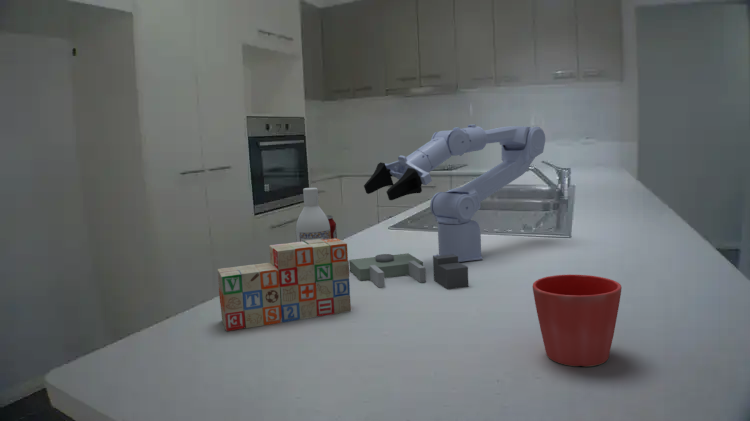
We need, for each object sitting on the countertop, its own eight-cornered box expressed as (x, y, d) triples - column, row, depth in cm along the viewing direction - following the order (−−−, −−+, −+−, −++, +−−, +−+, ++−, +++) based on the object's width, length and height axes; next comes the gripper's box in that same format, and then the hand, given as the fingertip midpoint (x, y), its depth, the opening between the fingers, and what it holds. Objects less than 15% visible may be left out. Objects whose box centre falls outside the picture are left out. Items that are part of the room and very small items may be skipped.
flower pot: (521, 344, 79) (520, 276, 78) (597, 337, 80) (597, 270, 79) (551, 376, 68) (550, 298, 67) (638, 368, 69) (639, 291, 68)
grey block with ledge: (454, 279, 116) (453, 254, 115) (468, 287, 109) (467, 261, 108) (434, 281, 115) (433, 256, 114) (447, 290, 108) (446, 263, 107)
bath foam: (338, 285, 115) (332, 187, 112) (306, 291, 112) (299, 191, 109) (326, 278, 121) (320, 185, 118) (295, 283, 118) (288, 188, 115)
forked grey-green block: (408, 263, 131) (408, 249, 130) (435, 280, 115) (434, 264, 114) (349, 270, 127) (349, 255, 127) (368, 289, 111) (367, 272, 111)
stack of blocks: (225, 333, 91) (218, 257, 89) (221, 321, 96) (215, 250, 95) (351, 311, 98) (347, 242, 96) (341, 302, 104) (336, 236, 102)
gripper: (395, 142, 128) (350, 171, 122) (440, 149, 117) (393, 182, 111) (403, 169, 132) (360, 198, 125) (448, 179, 121) (403, 211, 114)
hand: (377, 192), depth 118 cm, fingers open, 7 cm apart
